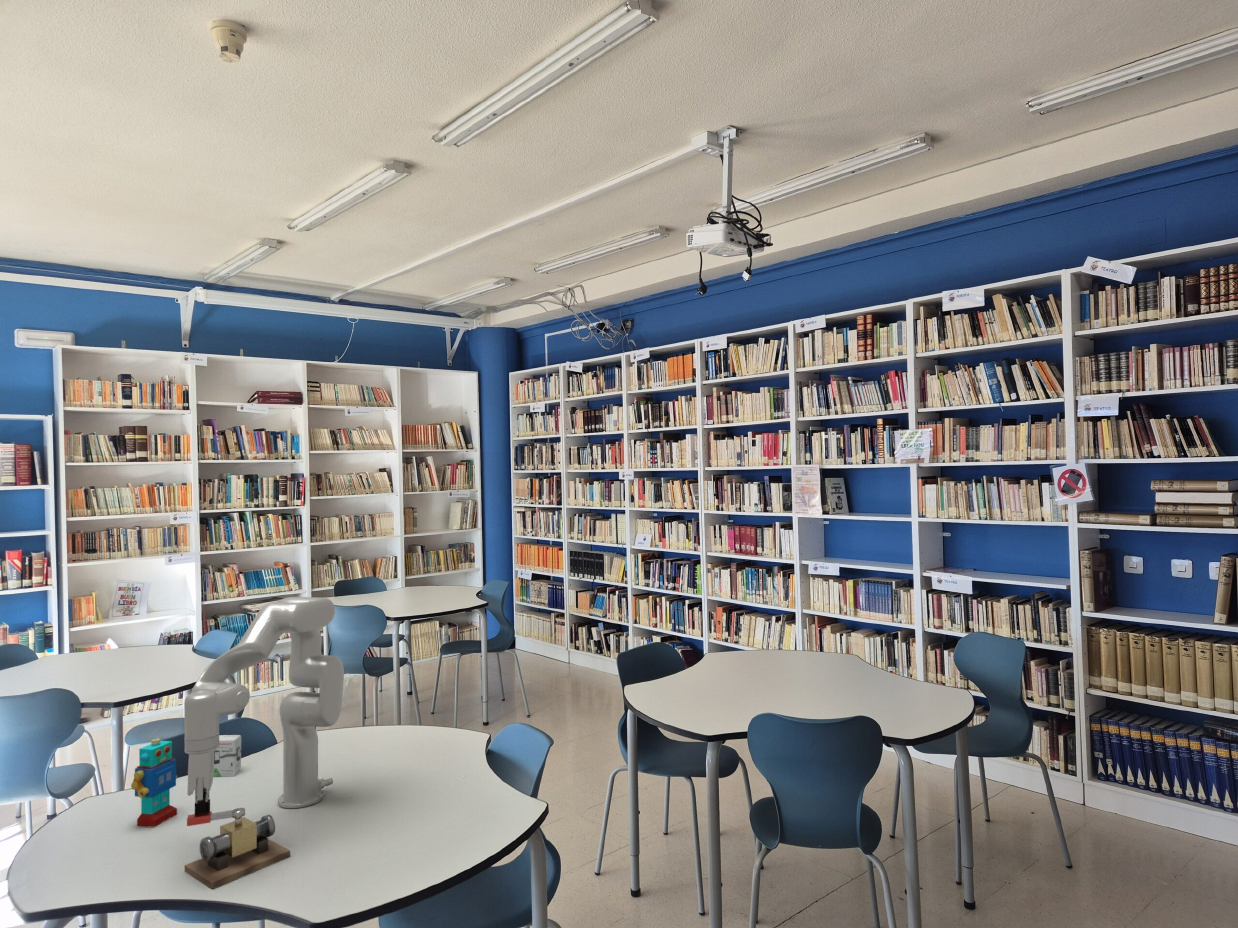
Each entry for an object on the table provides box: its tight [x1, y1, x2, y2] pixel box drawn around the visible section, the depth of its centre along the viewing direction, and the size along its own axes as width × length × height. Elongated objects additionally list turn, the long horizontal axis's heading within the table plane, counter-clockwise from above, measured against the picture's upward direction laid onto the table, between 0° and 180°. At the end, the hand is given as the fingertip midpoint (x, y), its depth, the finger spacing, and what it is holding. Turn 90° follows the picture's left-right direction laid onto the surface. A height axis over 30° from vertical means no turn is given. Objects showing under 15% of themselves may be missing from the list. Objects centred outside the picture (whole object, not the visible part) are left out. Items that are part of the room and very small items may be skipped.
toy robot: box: [130, 729, 178, 828], centre depth 212 cm, size 12×6×25 cm, turn 168°
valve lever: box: [186, 807, 246, 827], centre depth 185 cm, size 12×3×2 cm, turn 111°
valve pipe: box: [199, 814, 276, 871], centre depth 186 cm, size 16×6×10 cm, turn 143°
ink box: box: [213, 734, 242, 778], centre depth 245 cm, size 9×5×12 cm, turn 93°
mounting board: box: [184, 838, 291, 890], centre depth 186 cm, size 19×14×2 cm
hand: (202, 817), depth 186 cm, fingers closed
